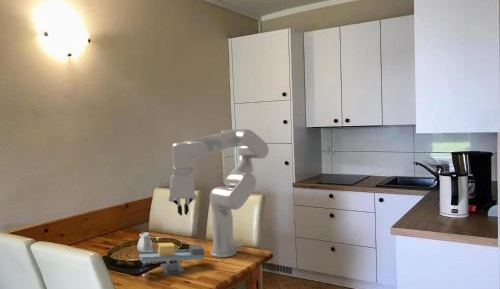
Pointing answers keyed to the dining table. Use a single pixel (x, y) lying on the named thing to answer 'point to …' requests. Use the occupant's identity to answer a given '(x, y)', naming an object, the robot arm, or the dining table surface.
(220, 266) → the dining table surface
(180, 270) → the fulcrum
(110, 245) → the dining table surface
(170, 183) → the robot arm
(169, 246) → the block
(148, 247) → the flask
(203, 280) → the dining table surface
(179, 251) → the beam
